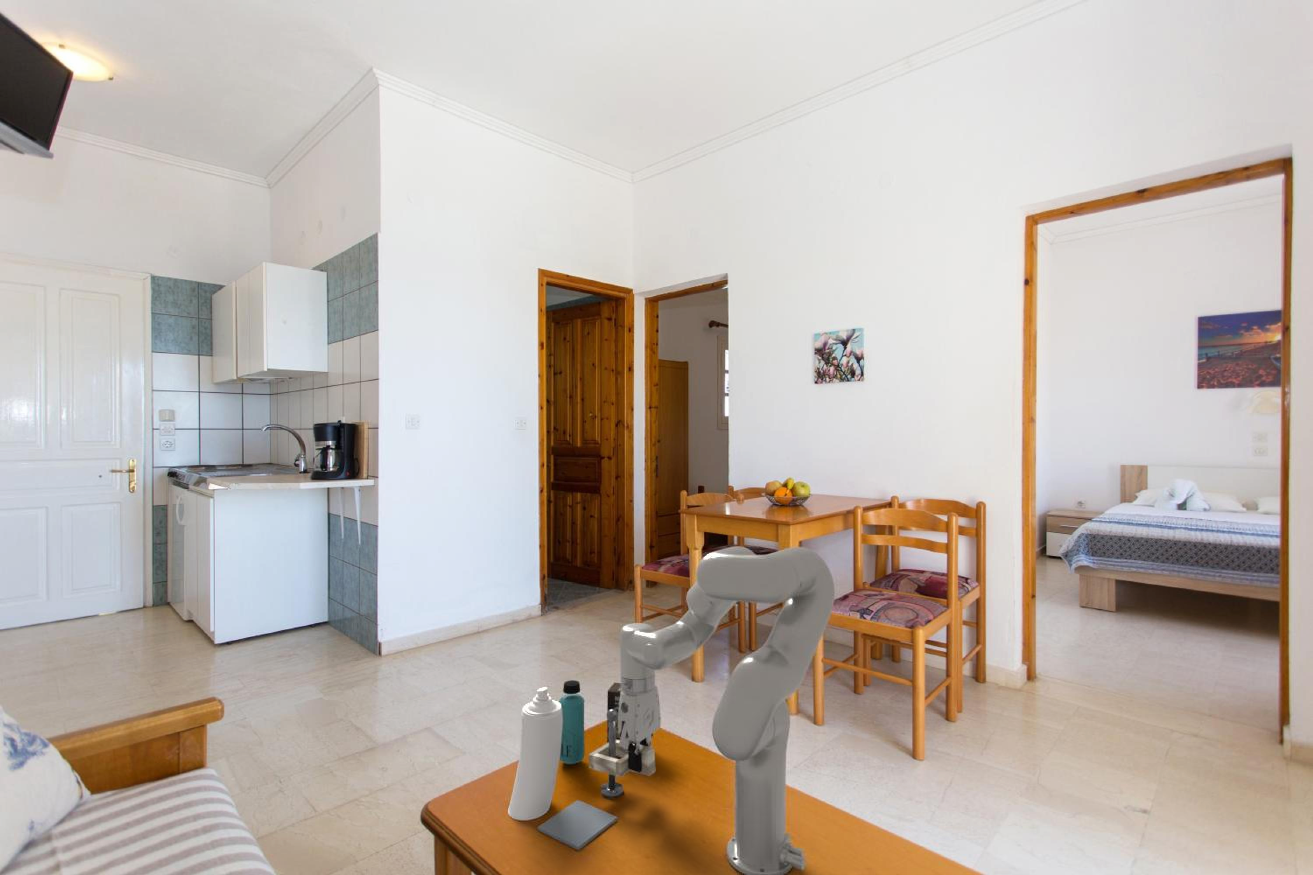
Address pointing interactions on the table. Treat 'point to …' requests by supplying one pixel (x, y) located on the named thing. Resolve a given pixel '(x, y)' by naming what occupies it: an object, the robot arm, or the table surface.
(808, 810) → the table surface
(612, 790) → the stand
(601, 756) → the cream square frame
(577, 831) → the mat
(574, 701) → the beverage bottle
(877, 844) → the table surface
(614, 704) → the coffee box
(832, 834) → the table surface
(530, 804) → the spray can
